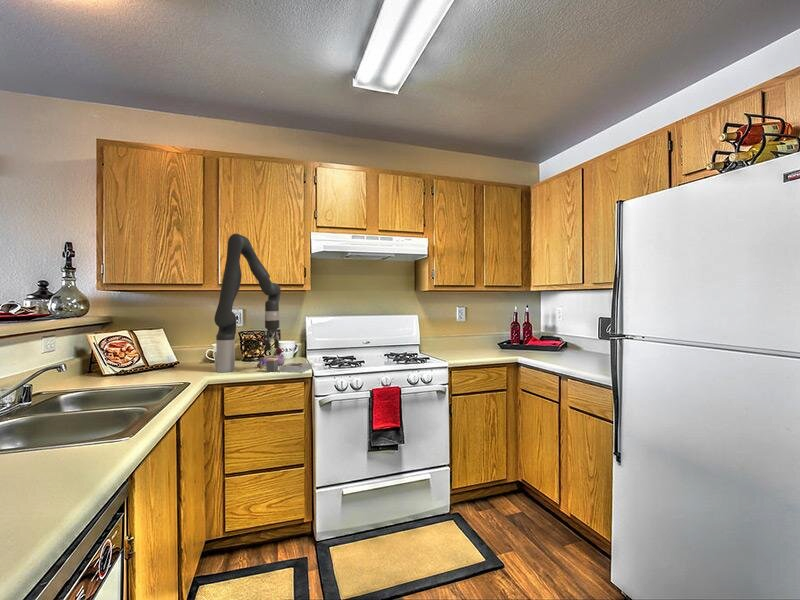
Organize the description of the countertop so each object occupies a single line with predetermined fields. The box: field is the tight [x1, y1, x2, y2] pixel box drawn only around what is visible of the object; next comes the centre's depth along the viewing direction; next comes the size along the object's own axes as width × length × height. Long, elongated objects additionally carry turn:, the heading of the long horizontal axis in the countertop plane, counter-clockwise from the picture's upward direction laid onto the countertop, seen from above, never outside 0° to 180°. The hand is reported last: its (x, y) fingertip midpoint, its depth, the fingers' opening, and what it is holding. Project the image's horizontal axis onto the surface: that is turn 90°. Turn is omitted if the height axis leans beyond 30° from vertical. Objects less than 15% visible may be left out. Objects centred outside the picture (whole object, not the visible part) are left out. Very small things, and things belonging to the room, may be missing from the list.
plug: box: [265, 358, 279, 373], centre depth 209 cm, size 4×4×7 cm
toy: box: [256, 346, 286, 368], centre depth 227 cm, size 10×15×15 cm
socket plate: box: [278, 362, 313, 374], centre depth 213 cm, size 13×13×3 cm
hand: (272, 349), depth 209 cm, fingers open, 8 cm apart
